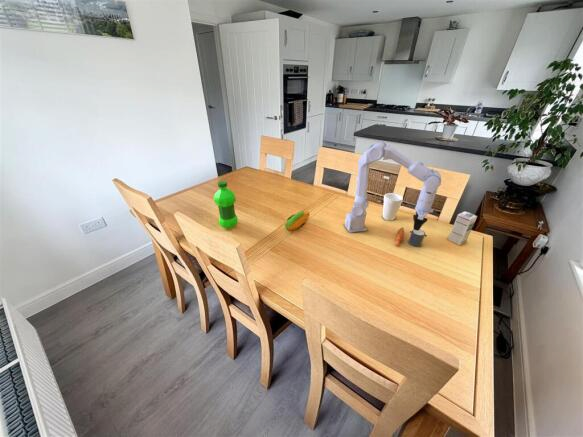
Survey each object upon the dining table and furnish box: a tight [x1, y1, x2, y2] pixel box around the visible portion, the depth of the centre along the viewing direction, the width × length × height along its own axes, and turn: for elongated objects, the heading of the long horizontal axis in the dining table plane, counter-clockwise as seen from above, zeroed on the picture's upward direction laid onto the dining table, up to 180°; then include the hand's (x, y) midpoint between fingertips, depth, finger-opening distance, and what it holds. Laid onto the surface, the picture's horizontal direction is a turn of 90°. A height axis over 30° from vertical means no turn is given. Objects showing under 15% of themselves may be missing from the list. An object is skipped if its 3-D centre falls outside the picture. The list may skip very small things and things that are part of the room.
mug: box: [408, 228, 428, 248], centre depth 110 cm, size 6×7×6 cm
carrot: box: [395, 227, 405, 247], centre depth 115 cm, size 16×3×3 cm, turn 150°
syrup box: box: [447, 211, 478, 246], centre depth 110 cm, size 6×6×14 cm
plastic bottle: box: [213, 180, 239, 230], centre depth 118 cm, size 10×10×25 cm
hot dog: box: [284, 210, 310, 232], centre depth 124 cm, size 7×8×20 cm
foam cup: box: [382, 192, 404, 221], centre depth 129 cm, size 10×9×13 cm
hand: (416, 225), depth 108 cm, fingers open, 7 cm apart
